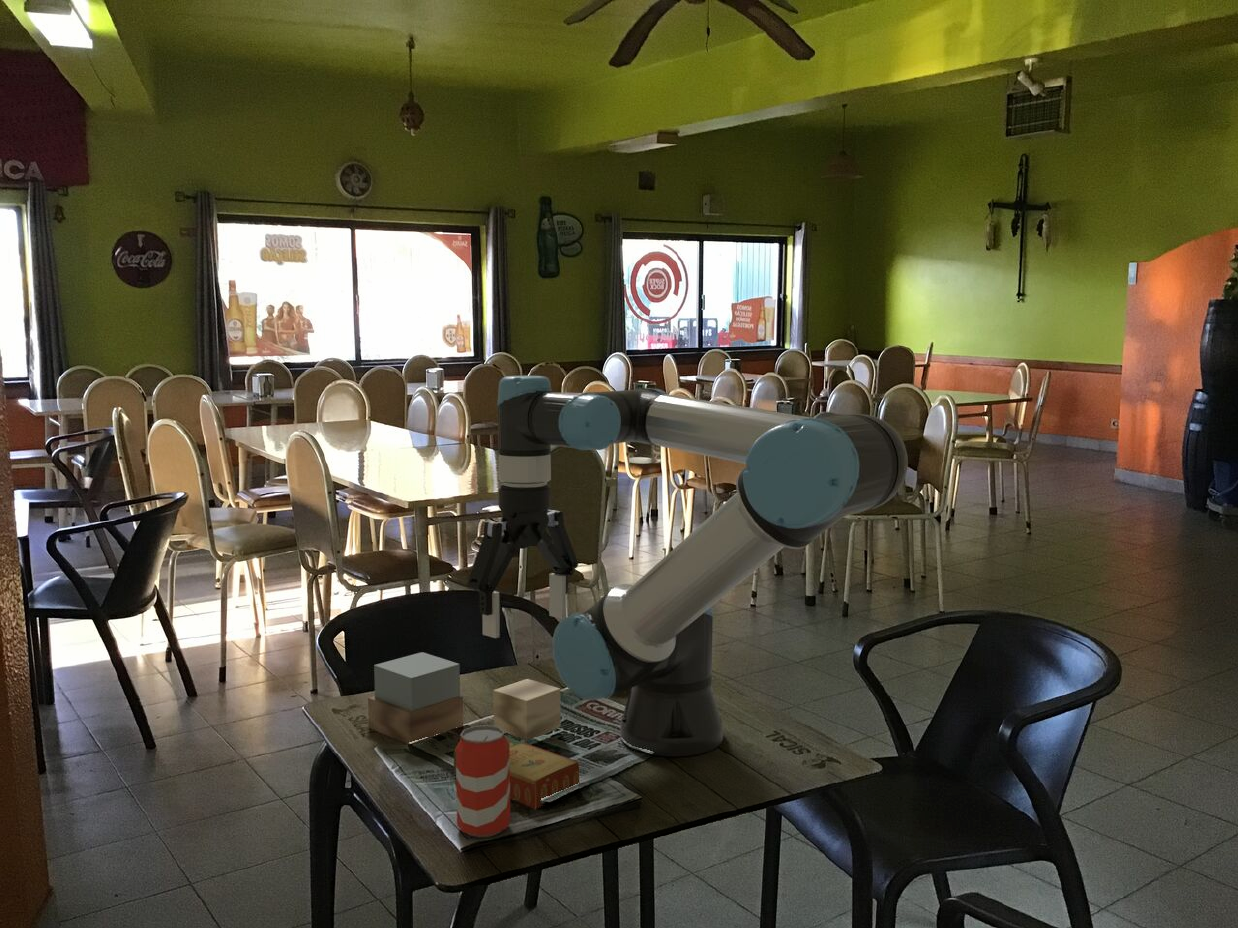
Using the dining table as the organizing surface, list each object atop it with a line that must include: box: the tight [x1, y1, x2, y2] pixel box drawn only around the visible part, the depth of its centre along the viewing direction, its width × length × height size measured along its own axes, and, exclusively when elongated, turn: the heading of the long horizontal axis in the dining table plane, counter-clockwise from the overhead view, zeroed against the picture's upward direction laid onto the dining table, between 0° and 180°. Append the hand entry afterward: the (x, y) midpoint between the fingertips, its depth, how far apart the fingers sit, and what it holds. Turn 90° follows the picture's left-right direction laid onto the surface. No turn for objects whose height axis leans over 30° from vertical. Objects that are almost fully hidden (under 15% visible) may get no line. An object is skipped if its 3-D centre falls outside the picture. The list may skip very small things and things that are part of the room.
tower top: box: [373, 651, 461, 711], centre depth 164 cm, size 9×9×5 cm
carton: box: [453, 736, 580, 810], centre depth 145 cm, size 8×16×4 cm, turn 48°
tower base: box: [367, 694, 464, 744], centre depth 165 cm, size 10×10×5 cm
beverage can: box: [455, 724, 511, 838], centre depth 131 cm, size 6×6×12 cm
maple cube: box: [492, 678, 562, 740], centre depth 162 cm, size 7×7×7 cm
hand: (525, 626), depth 160 cm, fingers open, 13 cm apart
